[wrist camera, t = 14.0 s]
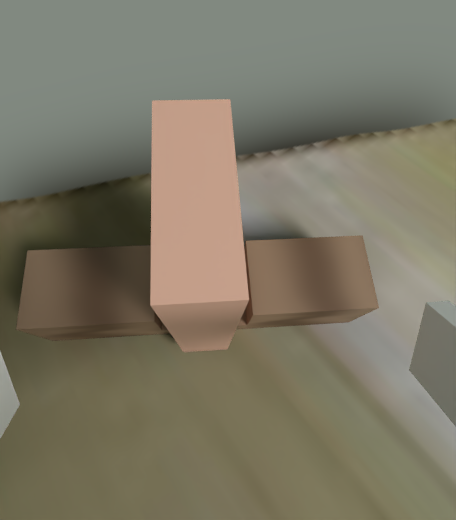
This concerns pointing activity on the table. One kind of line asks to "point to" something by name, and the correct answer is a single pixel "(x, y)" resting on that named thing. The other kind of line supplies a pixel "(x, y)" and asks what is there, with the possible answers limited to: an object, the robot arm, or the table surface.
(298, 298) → the walnut crossbar
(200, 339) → the tall pink slab box
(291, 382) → the table surface
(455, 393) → the robot arm
